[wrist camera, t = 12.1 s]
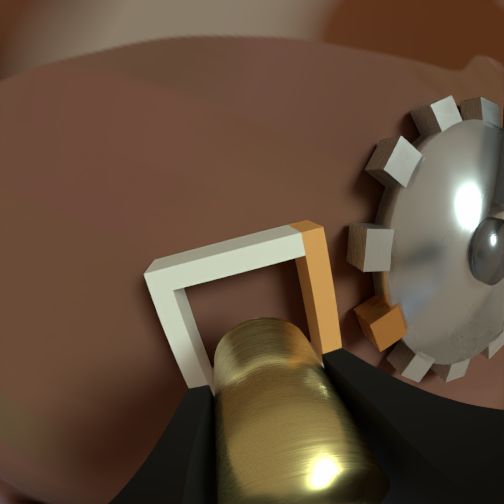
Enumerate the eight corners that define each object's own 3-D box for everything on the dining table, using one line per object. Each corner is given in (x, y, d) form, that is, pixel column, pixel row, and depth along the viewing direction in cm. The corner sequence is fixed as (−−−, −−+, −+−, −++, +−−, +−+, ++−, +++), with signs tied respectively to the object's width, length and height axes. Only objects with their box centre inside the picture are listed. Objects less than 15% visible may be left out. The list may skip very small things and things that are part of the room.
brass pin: (315, 383, 10) (382, 517, 4) (228, 405, 10) (243, 554, 4) (302, 305, 9) (397, 442, 4) (202, 330, 9) (192, 495, 3)
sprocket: (543, 157, 14) (587, 160, 10) (482, 369, 18) (519, 398, 13) (392, 32, 12) (444, -3, 7) (302, 356, 15) (332, 417, 10)
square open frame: (329, 350, 15) (344, 372, 13) (200, 384, 15) (199, 411, 13) (306, 219, 14) (323, 226, 11) (154, 259, 13) (143, 273, 11)
